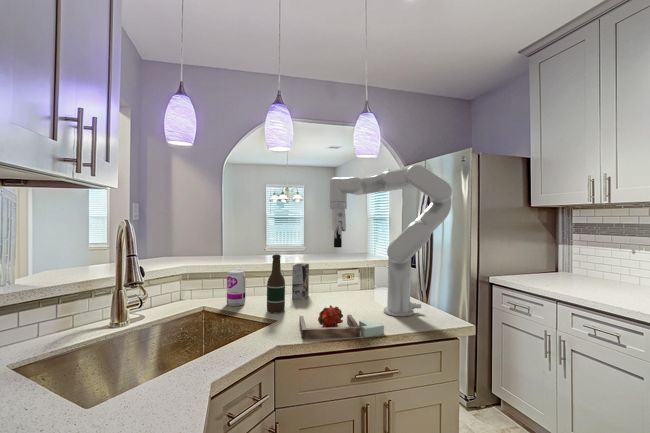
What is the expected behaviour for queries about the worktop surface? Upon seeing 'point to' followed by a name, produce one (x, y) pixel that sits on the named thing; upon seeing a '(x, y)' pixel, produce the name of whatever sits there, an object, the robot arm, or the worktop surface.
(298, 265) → the coffee box
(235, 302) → the supplement can
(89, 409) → the worktop surface
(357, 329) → the bay
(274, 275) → the beer bottle
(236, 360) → the worktop surface
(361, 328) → the t block
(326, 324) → the dragon fruit
